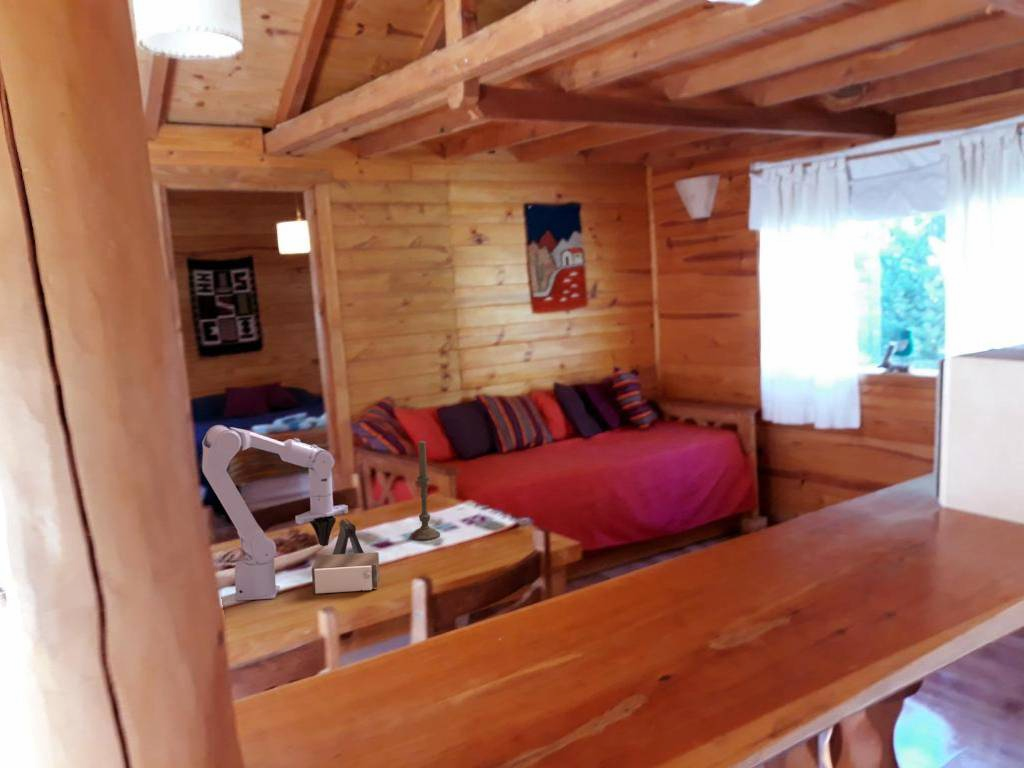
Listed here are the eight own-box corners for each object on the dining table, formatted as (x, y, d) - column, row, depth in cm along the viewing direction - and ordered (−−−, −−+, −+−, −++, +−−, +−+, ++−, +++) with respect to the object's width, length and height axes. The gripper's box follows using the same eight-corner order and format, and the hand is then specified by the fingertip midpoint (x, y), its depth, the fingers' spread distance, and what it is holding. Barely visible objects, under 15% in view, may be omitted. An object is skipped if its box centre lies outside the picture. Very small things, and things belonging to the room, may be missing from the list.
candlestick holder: (407, 533, 260) (404, 438, 256) (436, 530, 262) (433, 435, 259) (413, 542, 251) (409, 443, 247) (443, 538, 254) (440, 440, 250)
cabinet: (313, 593, 211) (311, 568, 210) (318, 579, 221) (316, 555, 220) (377, 589, 212) (376, 564, 212) (379, 576, 222) (378, 552, 222)
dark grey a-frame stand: (362, 558, 237) (360, 516, 236) (368, 564, 232) (366, 521, 231) (330, 563, 234) (328, 521, 232) (335, 569, 228) (333, 526, 227)
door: (315, 595, 209) (313, 571, 208) (316, 592, 211) (314, 568, 210) (372, 591, 210) (371, 568, 210) (372, 588, 212) (371, 565, 212)
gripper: (304, 502, 210) (307, 554, 211) (353, 491, 220) (355, 541, 222) (290, 497, 215) (293, 549, 216) (338, 487, 225) (340, 536, 227)
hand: (323, 545), depth 219 cm, fingers closed
